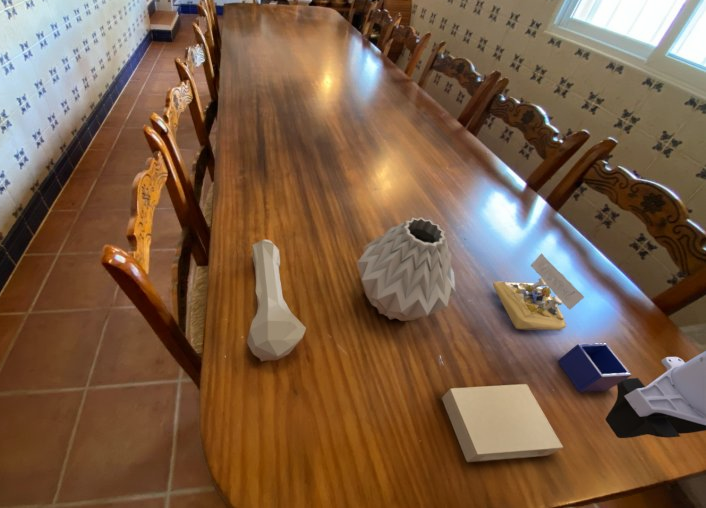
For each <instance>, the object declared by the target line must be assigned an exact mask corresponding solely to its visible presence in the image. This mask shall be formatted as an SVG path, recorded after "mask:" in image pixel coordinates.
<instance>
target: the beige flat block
mask: <svg viewBox="0 0 706 508" xmlns="http://www.w3.org/2000/svg"><path fill="white" fill-rule="evenodd" d="M441 401H442V403H443V406H444V409H445V411H446V413H447V415H448V419H449V420H450V423H451V425H452V428H453V430H454V433H455V436H456V438H457V440H458V443H459V447H460V448H461V451H462V453H463V456H464V459H465V461H466V462H467V463H475V462H486V461H498V460H510V459H512V460H513V459H522V458H536V457H547V456H550V455H553V454H554V453H556V452H558V451H560V450H561V449H564V446H563V444H562V443H561V441H560V439H559V437H558V436H557V434H556V432H555V430H554V429H553V427H552V425H551V424H550V422H549V419H547V416H546V415H545V413H544V412H543V410H542V408H541V406H540V404H539V403H538V401H537V400H536V398H535V396H534V394H533V392H532V391H531V389H530V387H529V385H528V384H527V383H519V384H504V385H487V386H470V387H469V386H467V387H453V388H452V387H451V388H449V389H448V391H447V392H445V394H444V395H442V397H441Z"/></svg>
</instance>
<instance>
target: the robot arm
mask: <svg viewBox="0 0 706 508" xmlns="http://www.w3.org/2000/svg"><path fill="white" fill-rule="evenodd" d="M661 364H662V365H663V366H664V367H665V369H666V371H664V373H662V374H661V375H659V376H658V377H657V378H655V379H654V380H653V381H651V382H650V383H649V384H648V385H646V386H645V384H644V383H643V382H642V381H641V379H640V378H638V377H628V378H627V379H623V380H622V381H620V382H619V383H618V384H617V385H616V387H617V394H616V400H615V402H614V404H613V406H612V408H611V409H610V411H609V412H608V414H607V416H606V417H605V422H606V423H607V425H608V427H610V429H611V430H612V432H613V433H614V435H615V436H616V437H617V438H618V439H628V438H629V439H631V438H636V437H642V436H647V435H649V436H655V437H657V438H665V439H666V438H668V439H669V438H670V439H671V438H680V437H681V435H680V434H693V433H699V432H706V350H705V351H703V352H702V353H700V354H698V355H696V356H694V357H693V358H691V359H689V360H687V361H684V360H683V359H682V358H680V357H678V356H667V357H664V358H663V359H661Z"/></svg>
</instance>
